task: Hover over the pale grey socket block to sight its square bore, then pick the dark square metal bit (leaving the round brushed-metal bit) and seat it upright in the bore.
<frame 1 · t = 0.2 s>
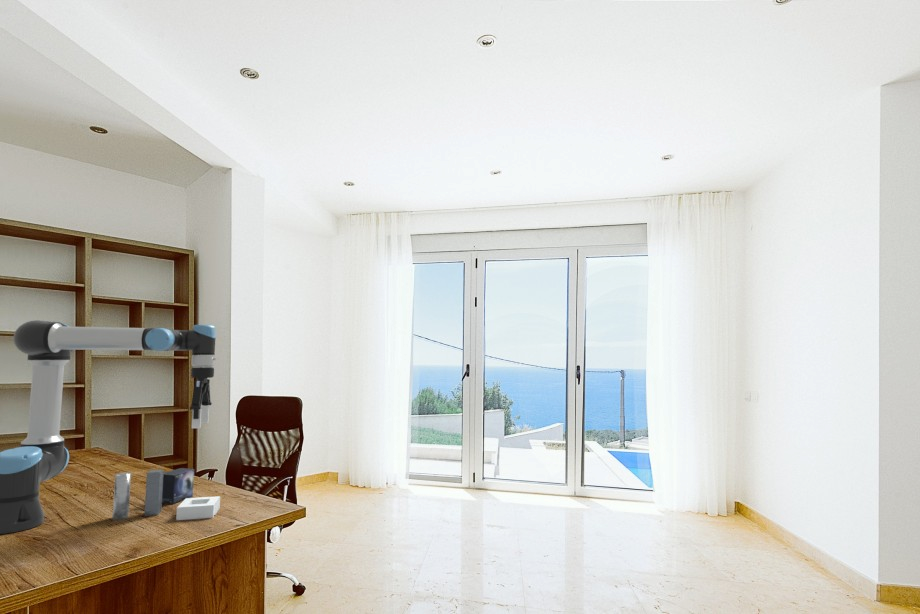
hand: (200, 425, 187), 28 cm above the table, fingers open, 13 cm apart
round bit: (120, 517, 170), on the table
small box: (176, 500, 190), on the table
square bit: (153, 513, 174), on the table
socket block: (198, 513, 174), on the table
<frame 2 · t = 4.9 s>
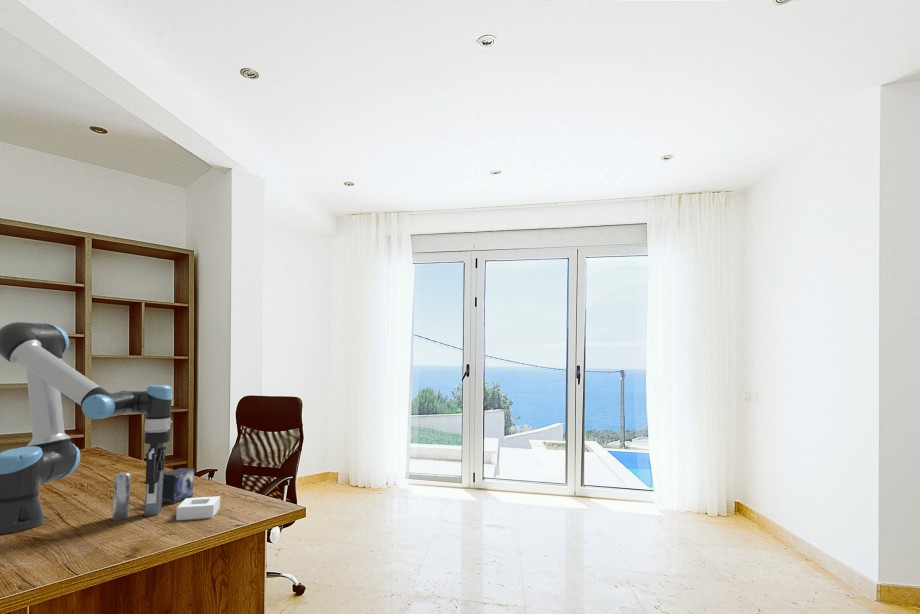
hand: (153, 500, 174), 4 cm above the table, fingers closed on square bit, 4 cm apart
square bit: (153, 513, 174), on the table, touching gripper
everything else where it was.
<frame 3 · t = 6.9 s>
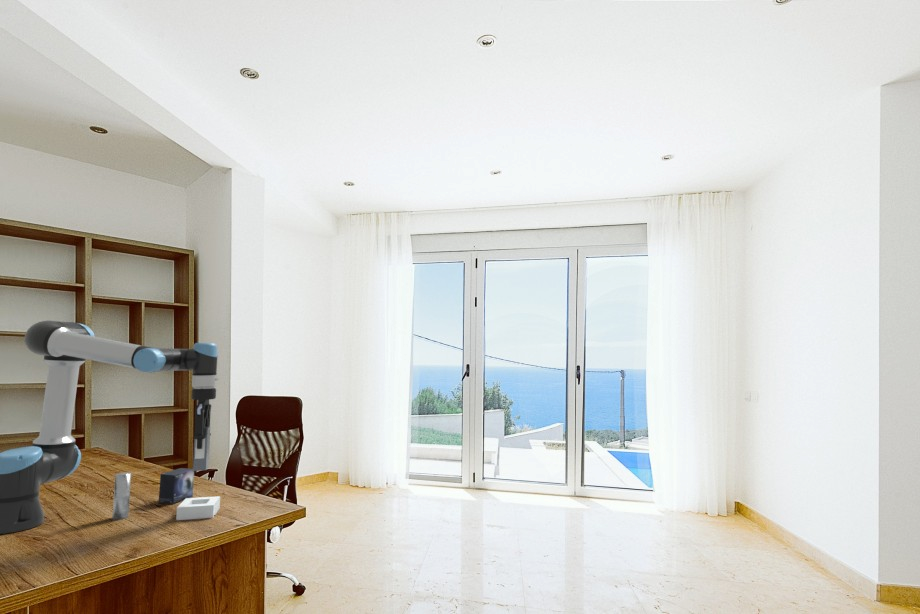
hand: (201, 456, 175), 19 cm above the table, fingers closed on square bit, 4 cm apart
square bit: (200, 469, 175), point 15 cm above the table, touching gripper
everything else where it was.
when the fingers open (5 cm above the table, at t = 9.1 s): square bit stays where it is, resting in socket block.
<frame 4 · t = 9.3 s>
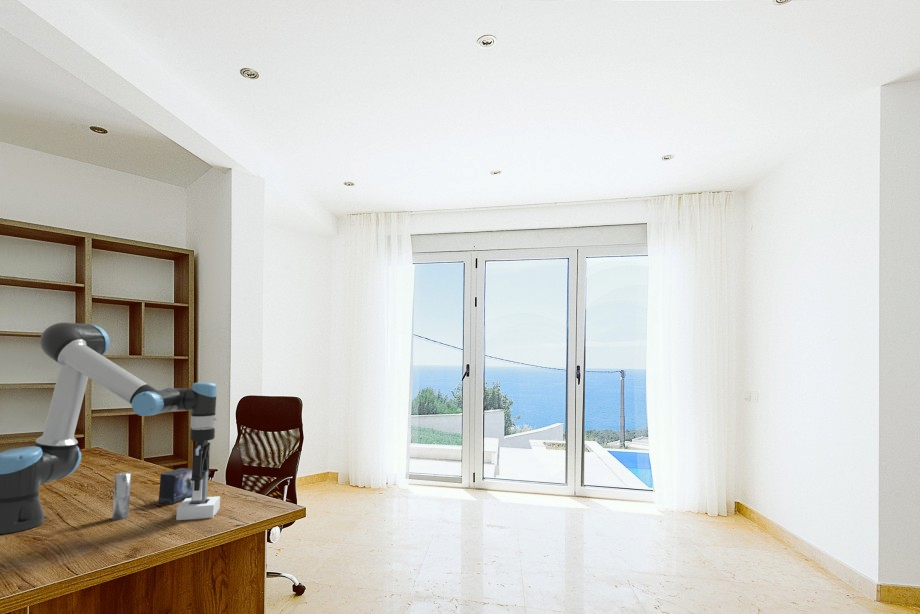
hand: (199, 496, 174), 6 cm above the table, fingers open, 7 cm apart
square bit: (198, 513, 174), resting in socket block
everything else where it was.
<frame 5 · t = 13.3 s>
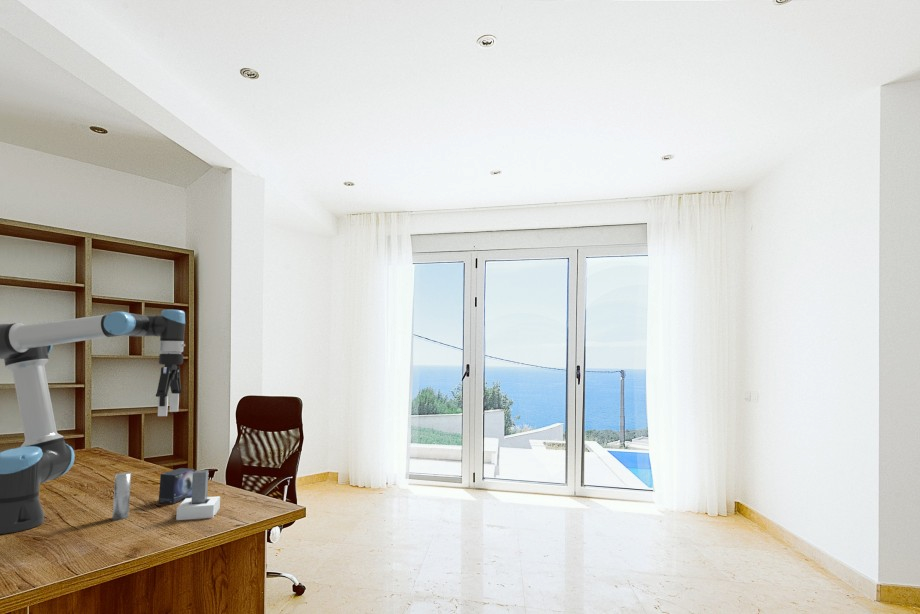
hand: (168, 413, 181), 33 cm above the table, fingers open, 13 cm apart
nothing on the table moved.
at the end: square bit 0.0 cm off-centre on the socket block, point 0.0 cm above the socket block's base; square bit tilted 0°; the gripper is holding nothing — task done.
